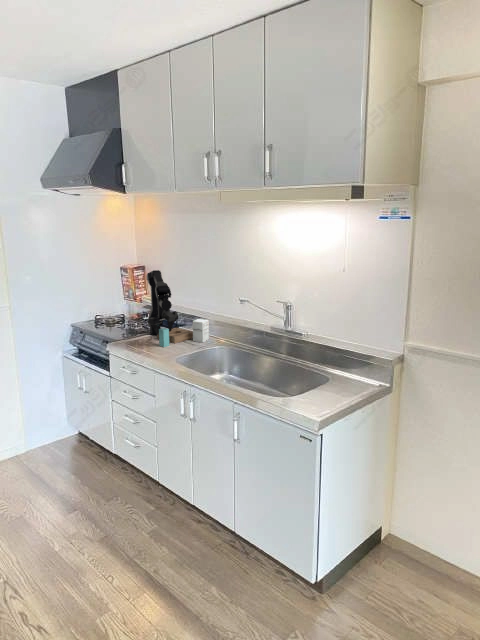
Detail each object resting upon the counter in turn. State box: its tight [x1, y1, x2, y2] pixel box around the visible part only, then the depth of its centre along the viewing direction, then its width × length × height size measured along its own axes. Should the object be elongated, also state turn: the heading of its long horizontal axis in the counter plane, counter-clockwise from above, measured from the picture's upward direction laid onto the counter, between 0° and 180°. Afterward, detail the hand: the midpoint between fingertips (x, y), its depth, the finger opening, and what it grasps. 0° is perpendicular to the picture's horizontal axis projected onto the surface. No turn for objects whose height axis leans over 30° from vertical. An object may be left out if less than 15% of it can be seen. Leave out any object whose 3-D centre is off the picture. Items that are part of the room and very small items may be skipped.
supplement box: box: [192, 318, 210, 343], centre depth 289 cm, size 7×7×13 cm
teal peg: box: [158, 327, 170, 348], centre depth 279 cm, size 4×4×10 cm
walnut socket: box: [156, 327, 193, 344], centre depth 295 cm, size 16×16×4 cm
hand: (163, 333), depth 278 cm, fingers open, 9 cm apart
